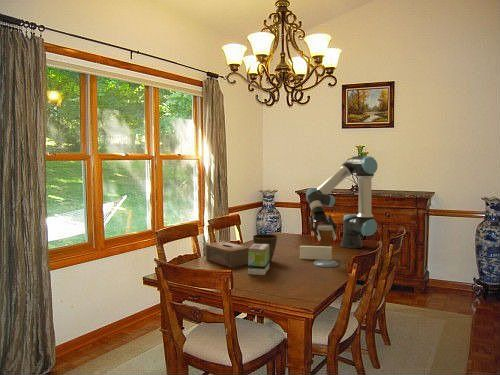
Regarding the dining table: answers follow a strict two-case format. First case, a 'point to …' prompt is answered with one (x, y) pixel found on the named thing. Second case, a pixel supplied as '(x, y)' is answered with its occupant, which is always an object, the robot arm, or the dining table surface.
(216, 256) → the tissue box cover
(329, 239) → the disposable coffee cup
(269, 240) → the plant pot
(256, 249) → the tea box
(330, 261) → the plate
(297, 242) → the dining table surface
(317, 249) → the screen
